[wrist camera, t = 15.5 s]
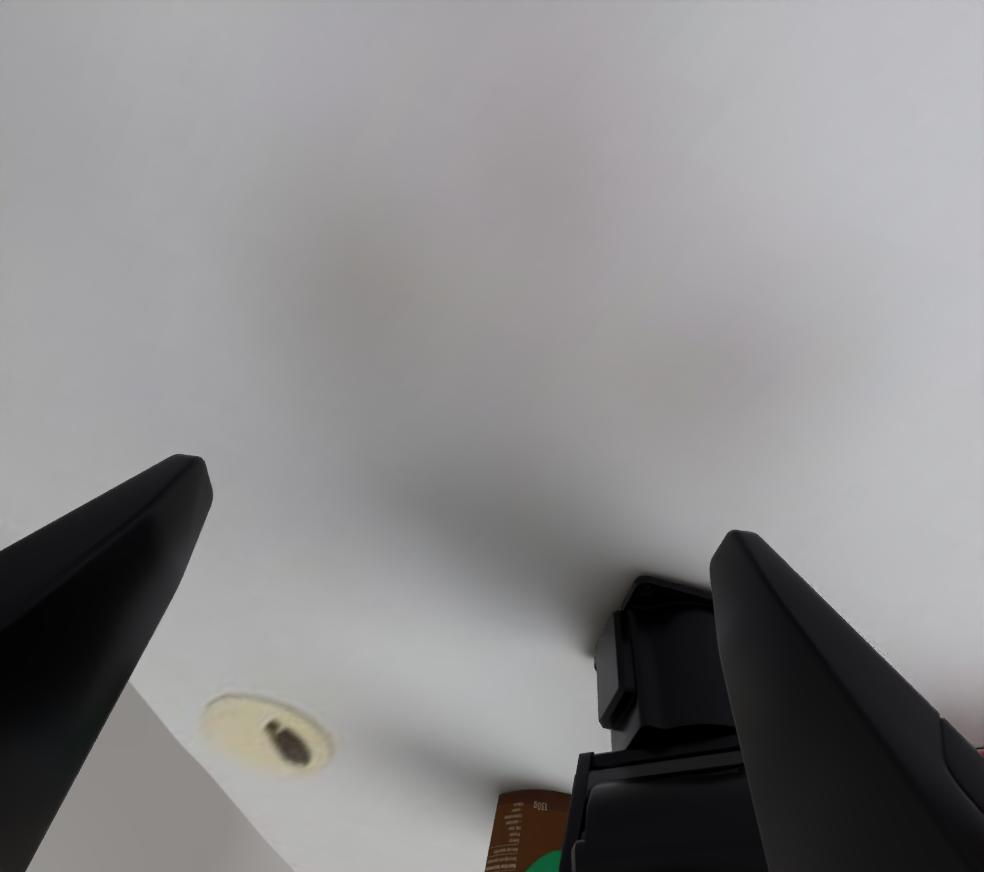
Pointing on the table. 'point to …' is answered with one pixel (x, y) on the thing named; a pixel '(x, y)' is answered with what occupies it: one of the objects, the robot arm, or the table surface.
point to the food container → (528, 832)
